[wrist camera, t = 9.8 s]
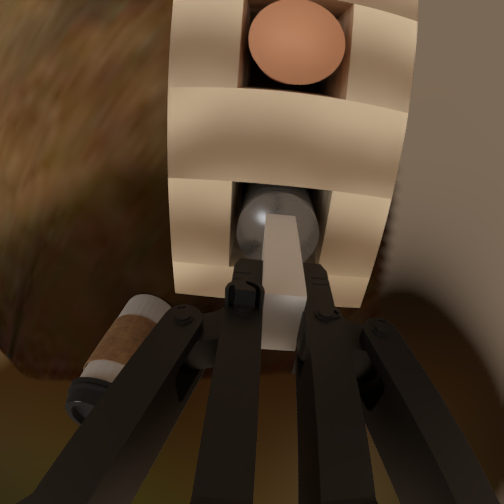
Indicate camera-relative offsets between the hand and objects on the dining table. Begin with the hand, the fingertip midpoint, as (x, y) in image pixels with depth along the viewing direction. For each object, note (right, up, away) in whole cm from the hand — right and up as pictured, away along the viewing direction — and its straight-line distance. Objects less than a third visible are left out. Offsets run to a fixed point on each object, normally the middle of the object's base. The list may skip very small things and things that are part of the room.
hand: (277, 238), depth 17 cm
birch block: (+1, +9, +6) cm, 11 cm away
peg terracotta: (+1, +13, +3) cm, 14 cm away
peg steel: (0, +5, +8) cm, 9 cm away
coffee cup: (-12, -8, +17) cm, 22 cm away
